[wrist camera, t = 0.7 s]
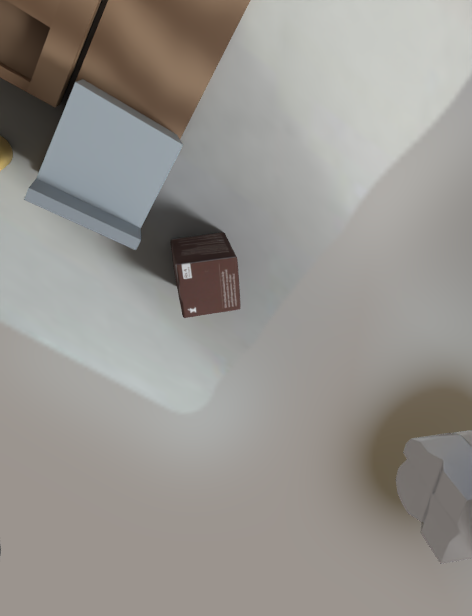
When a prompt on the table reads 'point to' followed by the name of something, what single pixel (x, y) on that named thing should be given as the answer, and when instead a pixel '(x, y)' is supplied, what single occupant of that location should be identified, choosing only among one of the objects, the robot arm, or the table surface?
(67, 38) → the board
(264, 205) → the table surface
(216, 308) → the box
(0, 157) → the pin
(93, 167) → the cover
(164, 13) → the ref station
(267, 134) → the table surface
